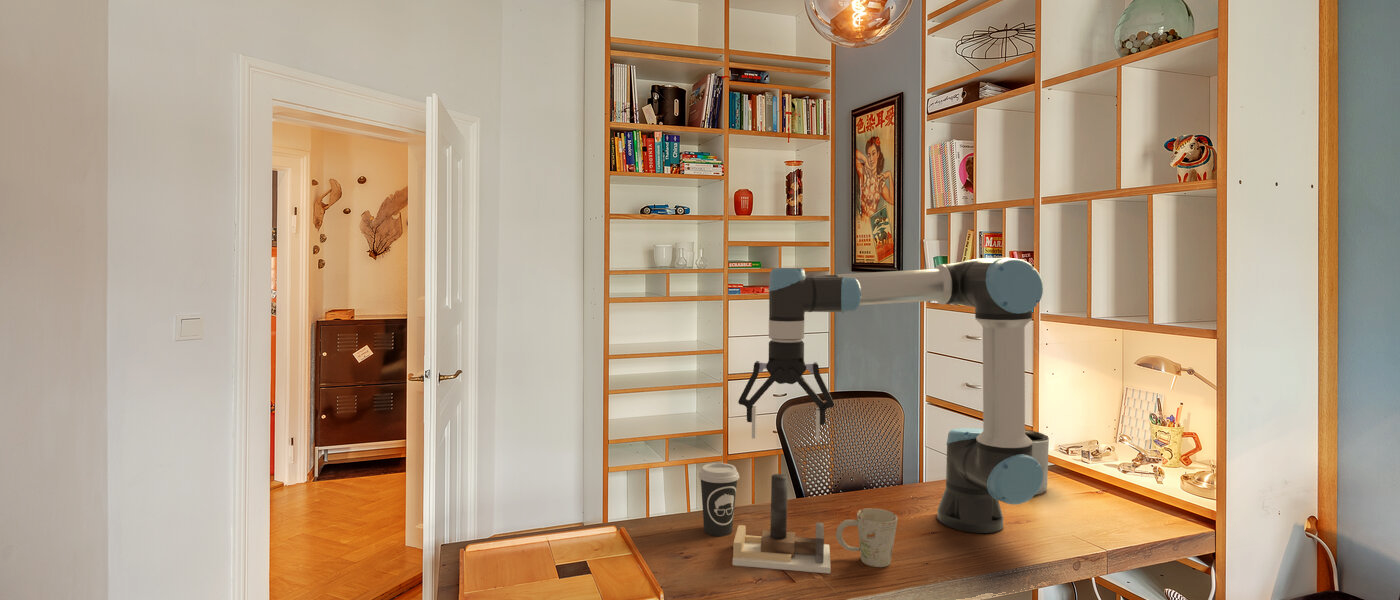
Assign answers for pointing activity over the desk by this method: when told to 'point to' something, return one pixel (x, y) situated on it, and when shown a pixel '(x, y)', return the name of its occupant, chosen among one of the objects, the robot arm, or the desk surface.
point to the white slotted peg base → (774, 556)
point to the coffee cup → (718, 497)
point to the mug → (872, 535)
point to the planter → (1040, 454)
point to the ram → (777, 535)
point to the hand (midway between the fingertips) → (785, 438)
